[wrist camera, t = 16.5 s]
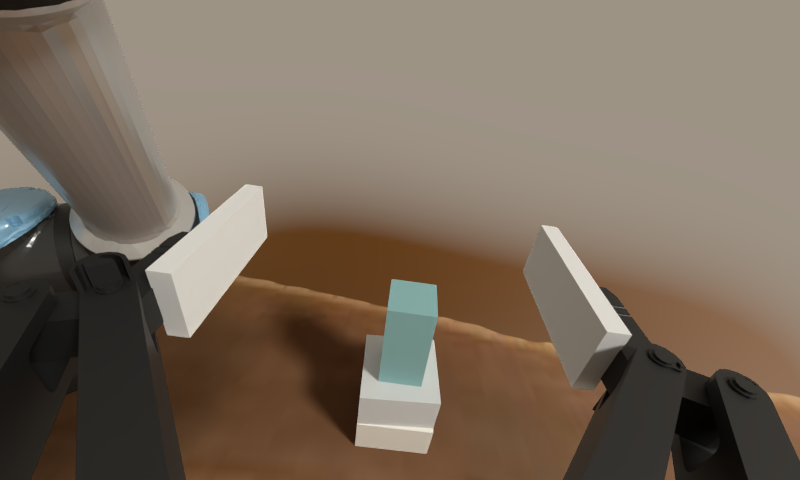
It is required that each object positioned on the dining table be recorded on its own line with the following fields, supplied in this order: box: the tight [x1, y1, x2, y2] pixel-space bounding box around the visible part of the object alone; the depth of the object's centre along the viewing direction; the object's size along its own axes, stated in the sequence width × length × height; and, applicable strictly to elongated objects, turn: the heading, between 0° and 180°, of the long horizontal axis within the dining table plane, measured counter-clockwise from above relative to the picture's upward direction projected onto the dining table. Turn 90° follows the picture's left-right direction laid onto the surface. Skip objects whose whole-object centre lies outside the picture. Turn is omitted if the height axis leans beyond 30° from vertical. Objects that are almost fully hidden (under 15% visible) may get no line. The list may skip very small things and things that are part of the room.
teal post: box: [378, 279, 438, 387], centre depth 38 cm, size 5×5×11 cm
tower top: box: [357, 335, 441, 429], centre depth 42 cm, size 9×9×5 cm
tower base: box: [355, 423, 433, 454], centre depth 44 cm, size 9×9×5 cm
